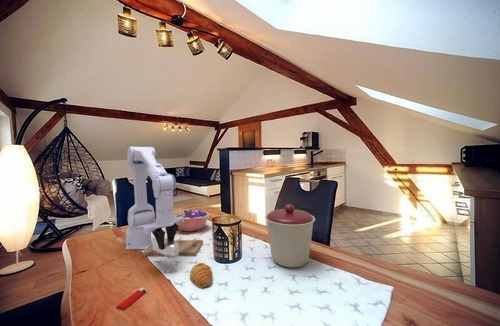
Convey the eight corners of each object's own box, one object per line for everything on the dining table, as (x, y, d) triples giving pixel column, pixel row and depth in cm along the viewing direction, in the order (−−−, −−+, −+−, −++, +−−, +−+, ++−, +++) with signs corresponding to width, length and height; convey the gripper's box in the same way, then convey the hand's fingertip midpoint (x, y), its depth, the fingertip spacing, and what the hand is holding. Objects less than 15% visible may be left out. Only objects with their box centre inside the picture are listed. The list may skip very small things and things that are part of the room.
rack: (142, 256, 82) (142, 246, 82) (156, 243, 94) (156, 234, 94) (195, 256, 82) (195, 246, 82) (202, 243, 94) (202, 234, 94)
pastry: (217, 285, 64) (217, 272, 63) (195, 292, 60) (195, 279, 60) (208, 270, 72) (207, 259, 72) (188, 276, 69) (187, 265, 68)
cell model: (180, 224, 122) (180, 204, 121) (213, 224, 119) (213, 205, 119) (166, 235, 105) (165, 212, 104) (204, 236, 103) (203, 213, 102)
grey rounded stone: (150, 249, 76) (150, 239, 76) (161, 246, 79) (160, 235, 79) (171, 259, 69) (170, 247, 69) (181, 254, 72) (181, 243, 72)
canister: (314, 278, 66) (314, 212, 65) (259, 269, 72) (259, 208, 71) (315, 253, 83) (315, 200, 82) (271, 247, 89) (271, 198, 88)
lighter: (116, 305, 54) (140, 286, 62) (116, 310, 54) (140, 291, 62) (124, 307, 53) (148, 288, 61) (124, 312, 53) (148, 292, 61)
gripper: (150, 216, 65) (152, 258, 66) (188, 206, 77) (189, 242, 78) (139, 212, 69) (140, 252, 70) (177, 204, 81) (178, 238, 82)
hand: (165, 247), depth 74 cm, fingers closed on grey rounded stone, 3 cm apart
